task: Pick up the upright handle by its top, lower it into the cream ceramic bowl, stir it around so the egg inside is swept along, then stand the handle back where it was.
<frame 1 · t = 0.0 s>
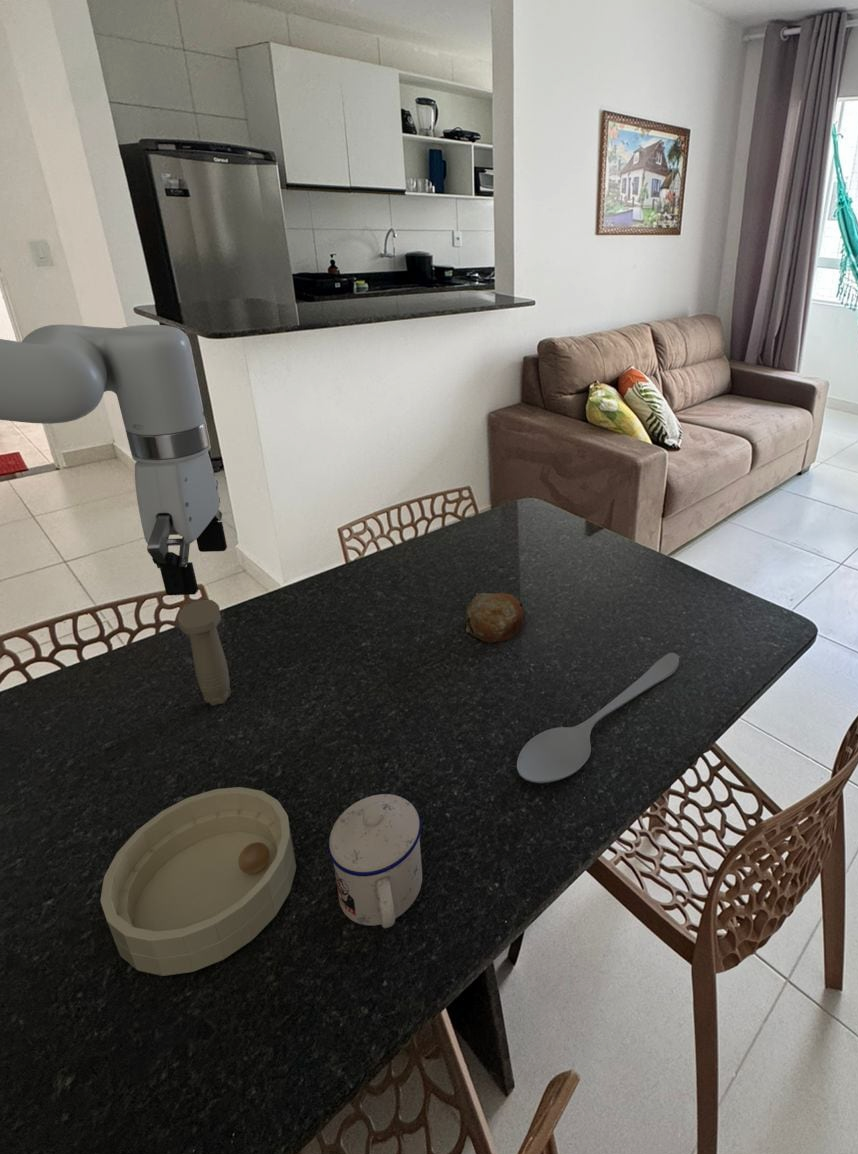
hand: (198, 570, 80), 25 cm above the table, tool pointing down, fingers open, 9 cm apart
teacup with lid: (383, 900, 71), on the table
bread roll: (495, 626, 115), on the table
egg: (254, 858, 72), point 2 cm above the table, touching bowl
handle: (218, 700, 96), on the table
spoon: (608, 718, 97), on the table
bowl: (211, 893, 70), on the table
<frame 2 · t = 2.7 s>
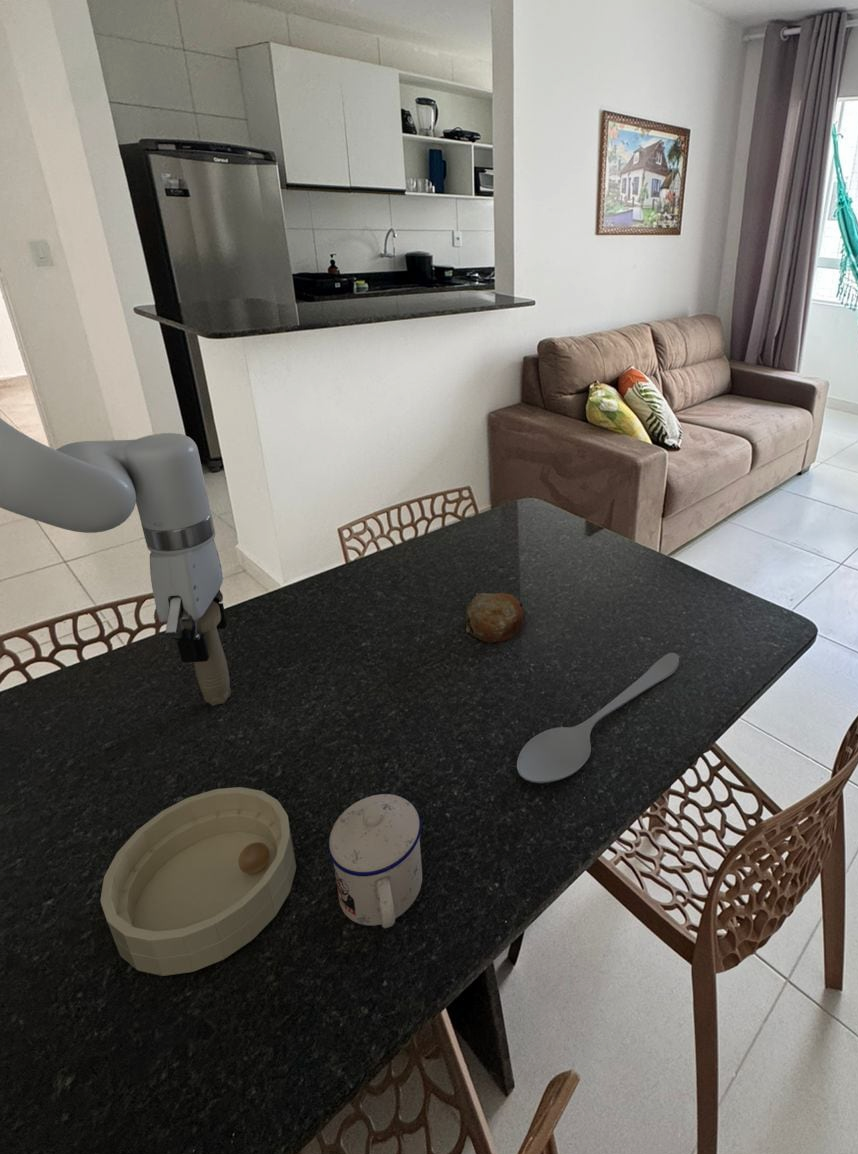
hand: (205, 642, 91), 10 cm above the table, tool pointing down, fingers closed on handle, 6 cm apart
handle: (218, 700, 96), on the table, touching gripper
everything else where it was.
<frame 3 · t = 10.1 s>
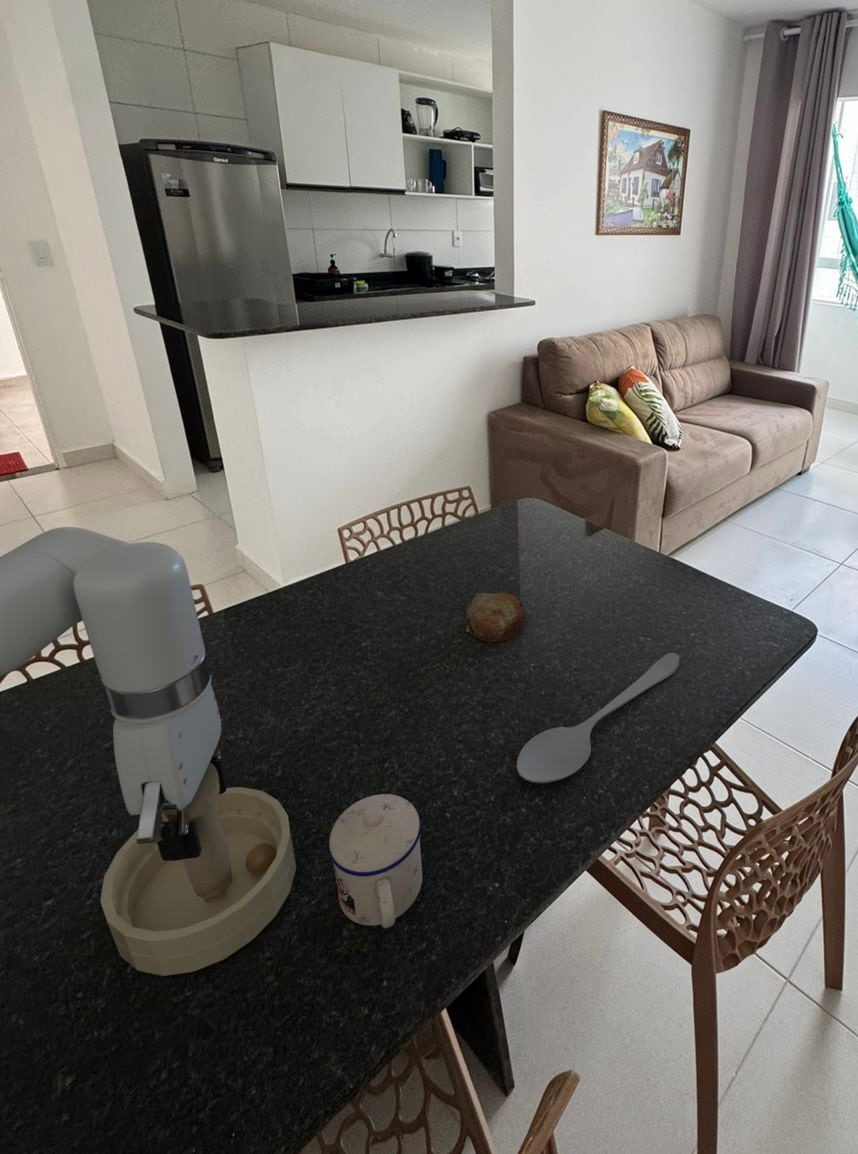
hand: (196, 821, 65), 12 cm above the table, tool pointing down, fingers closed on handle, 6 cm apart
egg: (261, 859, 72), point 2 cm above the table, tilted 31°, touching bowl
handle: (215, 890, 69), point 2 cm above the table, touching gripper
everything else where it was.
when the fingers open (10 cm above the table, at t = 18.7 s): handle stays where it is, on the table.
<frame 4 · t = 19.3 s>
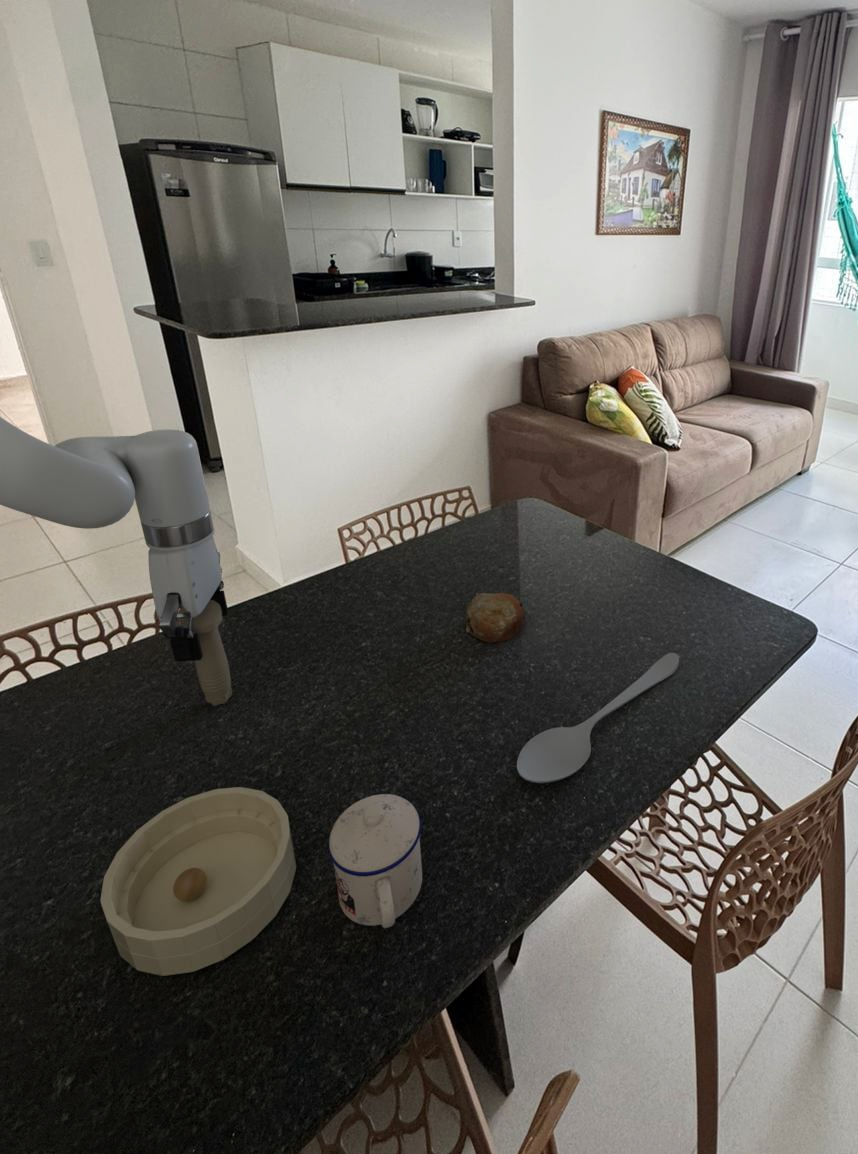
hand: (203, 636, 91), 11 cm above the table, tool pointing down, fingers open, 9 cm apart
egg: (190, 884, 69), point 2 cm above the table, tilted 129°, touching bowl
handle: (220, 700, 96), on the table
everything else where it was.
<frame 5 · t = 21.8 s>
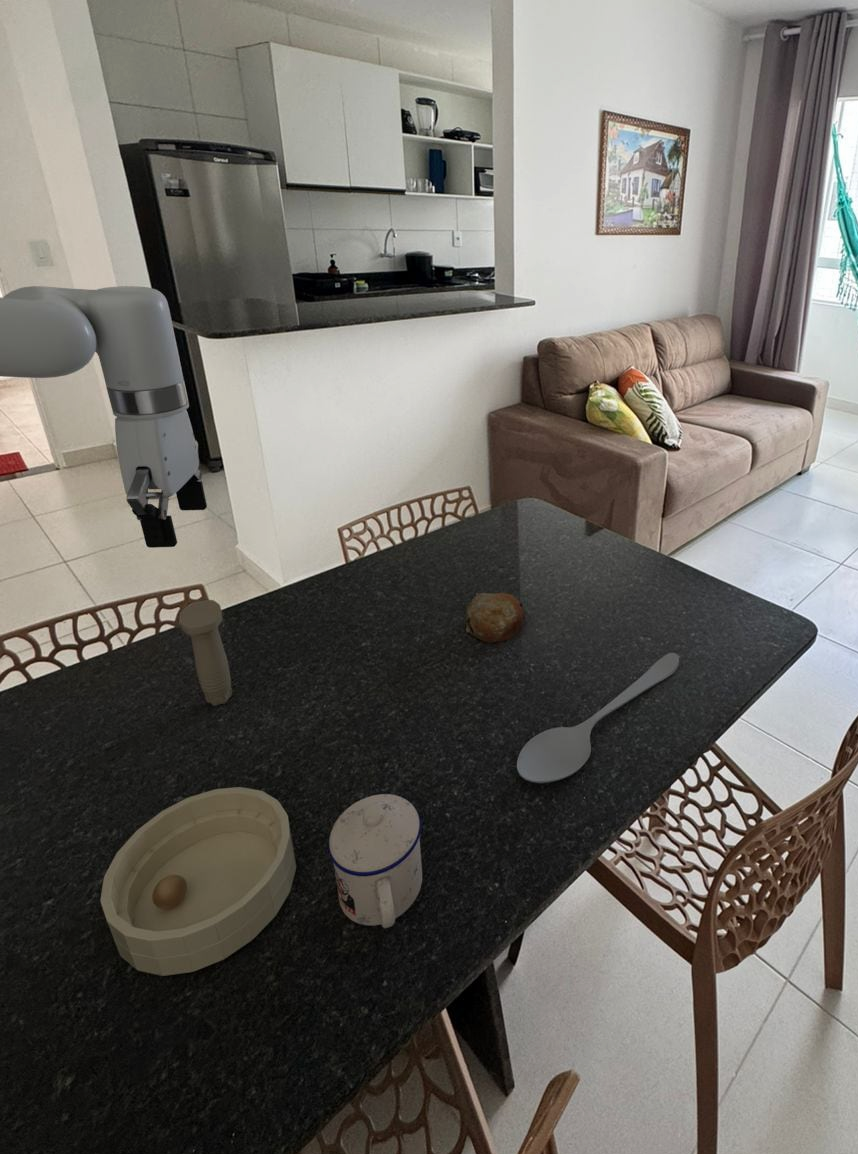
hand: (178, 526, 84), 28 cm above the table, tool pointing down, fingers open, 9 cm apart
egg: (169, 891, 68), point 2 cm above the table, tilted 64°, touching bowl
everything else where it was.
at the end: egg moved 8.0 cm from its start; egg inside the target area in the bowl (3.5 cm from its centre), point 2.1 cm above the bowl's base; handle inside the target area (0.2 cm from its centre), on the table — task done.
